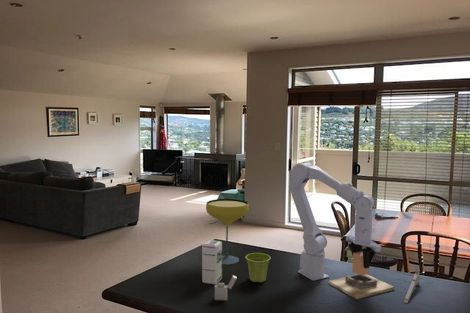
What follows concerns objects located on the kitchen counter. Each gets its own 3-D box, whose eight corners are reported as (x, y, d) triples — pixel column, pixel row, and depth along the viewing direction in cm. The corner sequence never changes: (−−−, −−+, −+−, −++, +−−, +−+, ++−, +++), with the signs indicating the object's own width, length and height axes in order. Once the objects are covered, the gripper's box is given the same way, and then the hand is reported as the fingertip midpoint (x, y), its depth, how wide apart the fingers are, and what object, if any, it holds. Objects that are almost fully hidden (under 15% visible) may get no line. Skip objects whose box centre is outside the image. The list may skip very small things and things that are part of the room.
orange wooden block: (352, 271, 133) (353, 252, 133) (360, 269, 135) (361, 251, 135) (360, 275, 130) (361, 256, 129) (369, 273, 131) (369, 254, 131)
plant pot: (256, 286, 131) (257, 263, 131) (239, 278, 138) (240, 256, 138) (275, 280, 137) (275, 257, 136) (258, 272, 144) (258, 251, 144)
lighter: (214, 299, 121) (214, 276, 120) (215, 297, 122) (215, 274, 122) (236, 300, 120) (236, 276, 120) (236, 298, 122) (236, 274, 122)
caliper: (415, 283, 137) (416, 267, 137) (419, 284, 137) (419, 267, 136) (403, 303, 121) (404, 284, 120) (407, 304, 120) (408, 285, 120)
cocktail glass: (228, 250, 170) (228, 197, 168) (256, 261, 157) (257, 203, 155) (196, 259, 158) (197, 202, 156) (224, 271, 145) (225, 209, 143)
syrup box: (216, 284, 132) (217, 245, 131) (201, 282, 134) (202, 243, 133) (222, 278, 138) (222, 241, 137) (207, 276, 140) (208, 239, 139)
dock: (328, 283, 135) (328, 275, 135) (364, 275, 143) (364, 268, 143) (356, 299, 123) (357, 290, 122) (394, 289, 131) (394, 281, 130)
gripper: (340, 224, 136) (339, 260, 137) (371, 234, 123) (369, 274, 124) (354, 222, 139) (352, 257, 140) (385, 232, 126) (384, 271, 127)
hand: (361, 265), depth 132 cm, fingers closed on orange wooden block, 4 cm apart
